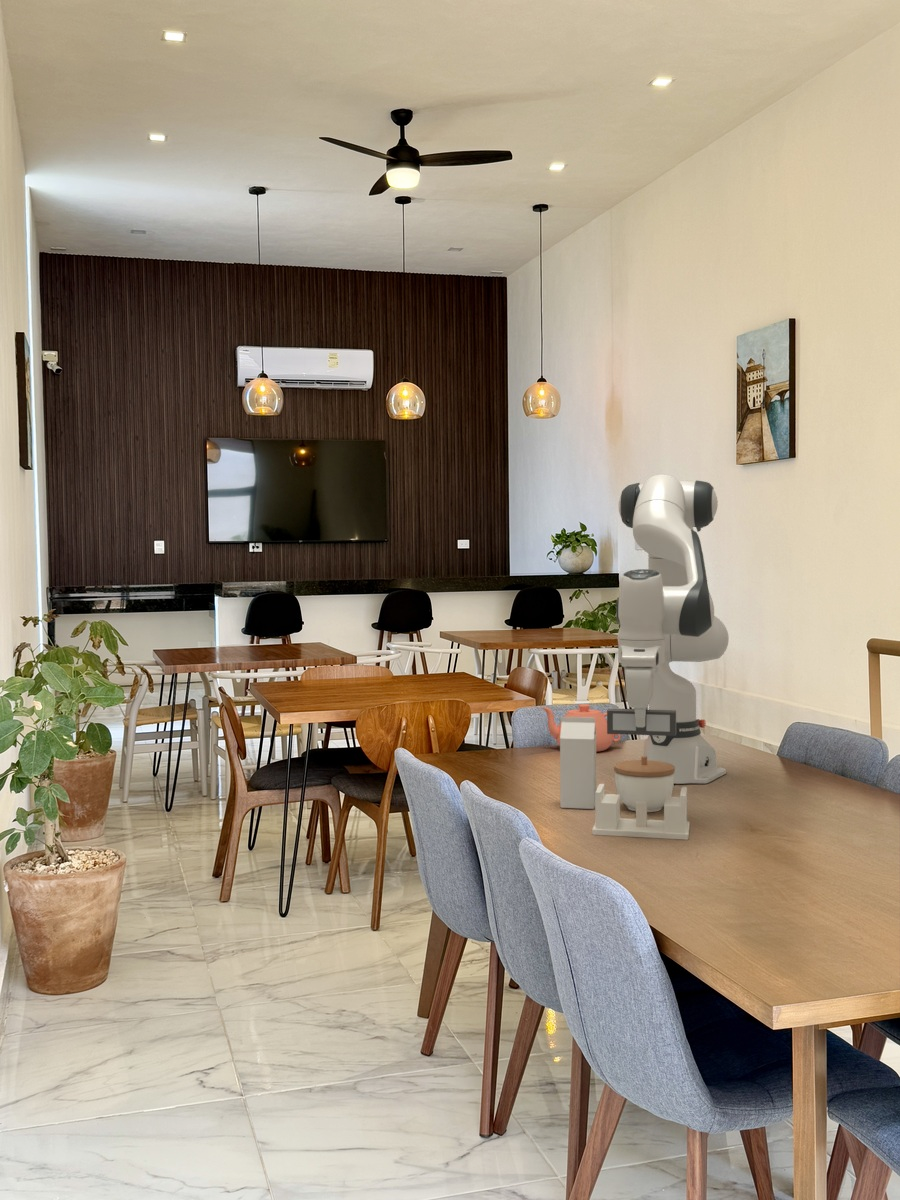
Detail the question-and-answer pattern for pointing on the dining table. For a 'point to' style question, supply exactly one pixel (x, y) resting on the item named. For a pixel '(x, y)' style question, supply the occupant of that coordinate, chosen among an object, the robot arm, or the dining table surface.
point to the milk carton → (578, 762)
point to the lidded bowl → (644, 782)
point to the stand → (640, 818)
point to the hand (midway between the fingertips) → (641, 725)
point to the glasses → (655, 725)
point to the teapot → (600, 722)
